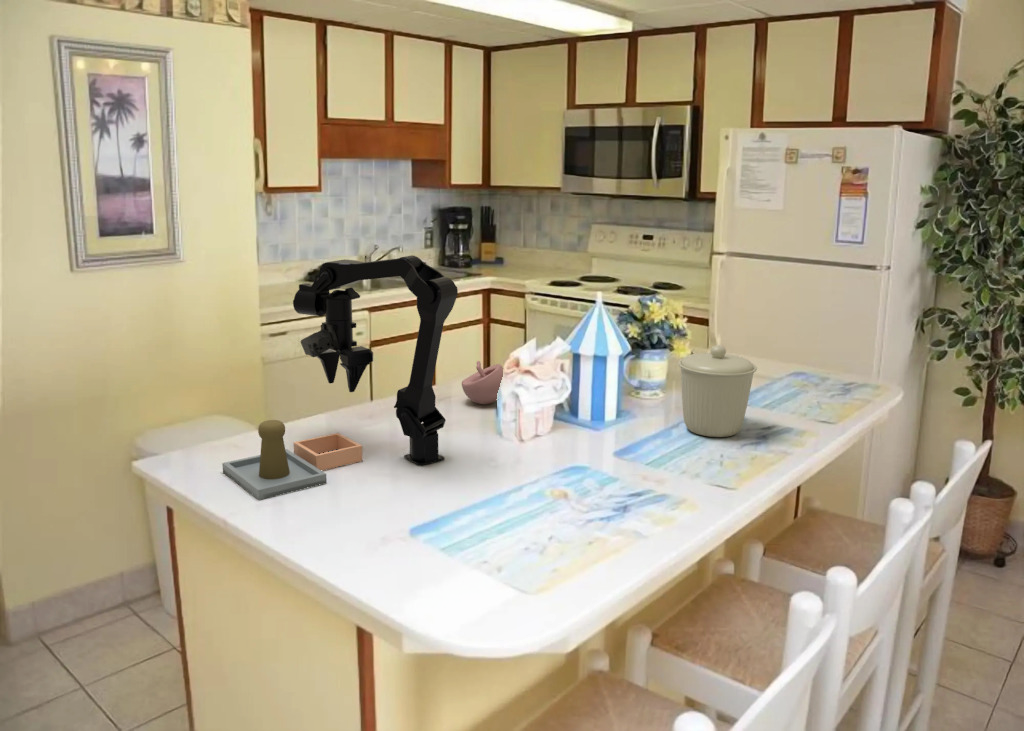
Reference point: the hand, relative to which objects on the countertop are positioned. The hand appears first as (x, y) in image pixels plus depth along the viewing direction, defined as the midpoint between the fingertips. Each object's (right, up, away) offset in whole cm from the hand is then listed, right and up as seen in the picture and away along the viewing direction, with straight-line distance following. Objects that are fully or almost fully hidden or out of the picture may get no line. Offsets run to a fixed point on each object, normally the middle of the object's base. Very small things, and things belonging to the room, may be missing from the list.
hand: (341, 387), depth 189 cm
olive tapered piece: (-10, -17, -18) cm, 27 cm away
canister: (+86, -11, +16) cm, 88 cm away
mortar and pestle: (+31, -5, +36) cm, 47 cm away
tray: (-10, -18, -18) cm, 27 cm away
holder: (-1, -15, -7) cm, 17 cm away
